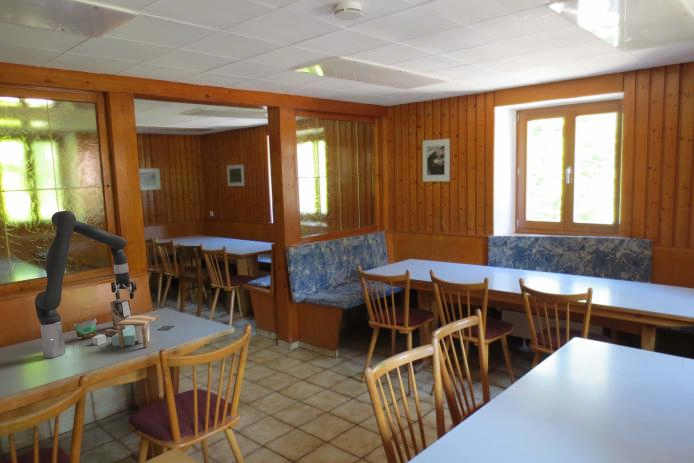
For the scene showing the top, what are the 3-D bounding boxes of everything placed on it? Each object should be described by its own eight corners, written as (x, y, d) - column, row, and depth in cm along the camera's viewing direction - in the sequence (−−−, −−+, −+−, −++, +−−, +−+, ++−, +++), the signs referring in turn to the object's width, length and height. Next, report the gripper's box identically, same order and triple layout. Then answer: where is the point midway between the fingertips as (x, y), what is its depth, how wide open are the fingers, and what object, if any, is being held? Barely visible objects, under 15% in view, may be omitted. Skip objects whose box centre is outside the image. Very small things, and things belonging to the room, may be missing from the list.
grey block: (98, 345, 266) (97, 338, 266) (93, 344, 268) (92, 337, 268) (106, 342, 271) (105, 335, 270) (101, 341, 273) (100, 334, 272)
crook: (134, 345, 262) (132, 336, 261) (112, 346, 263) (111, 337, 263) (154, 331, 284) (153, 323, 283) (134, 332, 285) (133, 323, 285)
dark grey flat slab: (168, 330, 284) (168, 329, 284) (157, 330, 286) (157, 329, 286) (174, 326, 291) (174, 325, 291) (163, 326, 292) (163, 325, 292)
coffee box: (133, 325, 298) (129, 299, 296) (125, 328, 292) (122, 302, 290) (120, 325, 301) (117, 299, 299) (112, 328, 295) (109, 302, 293)
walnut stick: (125, 335, 281) (124, 330, 281) (121, 336, 279) (121, 331, 278) (109, 334, 285) (108, 329, 285) (105, 335, 283) (104, 330, 283)
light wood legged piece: (147, 347, 256) (144, 323, 255) (119, 347, 259) (116, 323, 258) (162, 338, 270) (159, 315, 269) (136, 338, 273) (133, 315, 272)
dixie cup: (148, 343, 263) (145, 325, 261) (132, 344, 263) (130, 326, 262) (154, 338, 271) (152, 320, 270) (139, 339, 271) (137, 321, 270)
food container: (80, 342, 273) (78, 324, 272) (75, 340, 277) (73, 323, 276) (102, 335, 283) (100, 318, 281) (97, 333, 286) (95, 317, 285)
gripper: (106, 273, 280) (110, 301, 282) (129, 272, 278) (132, 300, 280) (114, 270, 287) (118, 297, 290) (136, 269, 285) (140, 297, 287)
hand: (125, 299), depth 285 cm, fingers open, 8 cm apart
